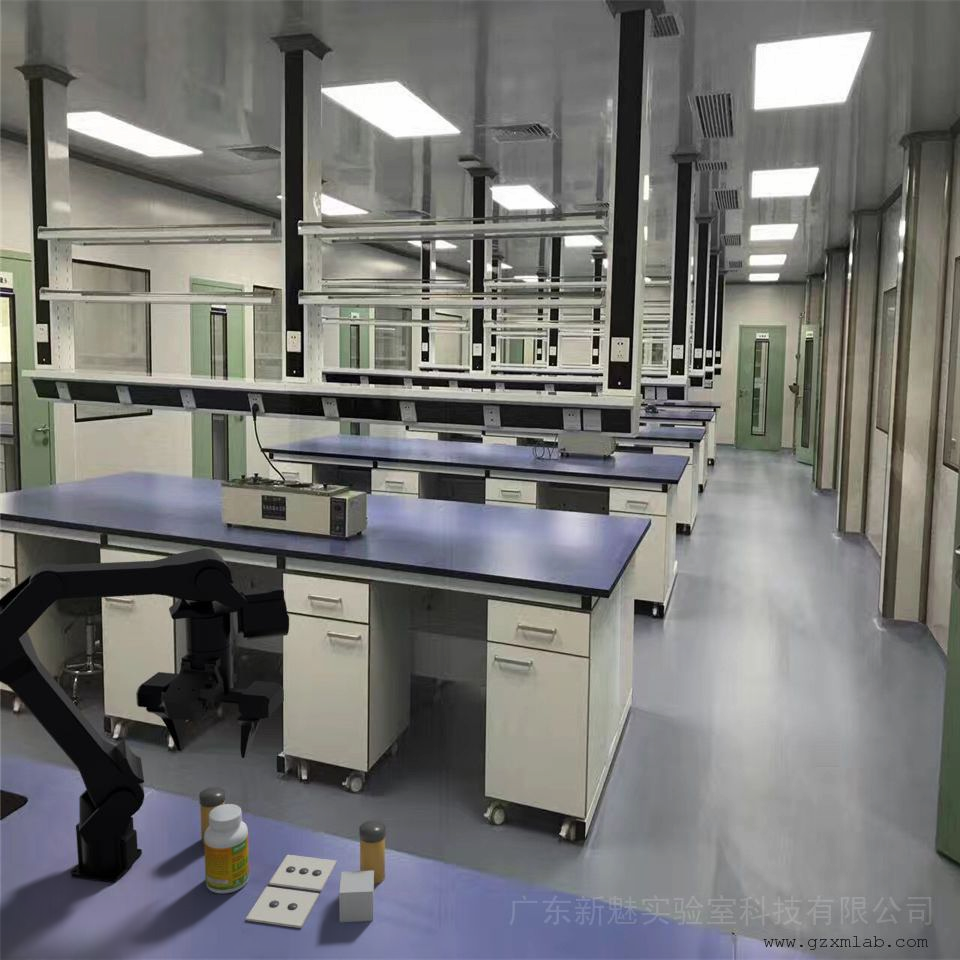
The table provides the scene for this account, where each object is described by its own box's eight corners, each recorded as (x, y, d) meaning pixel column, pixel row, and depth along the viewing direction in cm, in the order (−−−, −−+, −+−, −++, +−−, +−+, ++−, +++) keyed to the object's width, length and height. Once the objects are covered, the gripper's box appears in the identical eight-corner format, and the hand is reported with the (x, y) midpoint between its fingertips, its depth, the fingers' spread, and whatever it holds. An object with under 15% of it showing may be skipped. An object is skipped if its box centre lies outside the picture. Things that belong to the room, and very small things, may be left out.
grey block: (339, 922, 101) (339, 892, 100) (341, 900, 104) (341, 871, 104) (373, 921, 101) (373, 891, 100) (374, 899, 105) (374, 870, 104)
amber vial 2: (355, 883, 108) (355, 834, 106) (363, 867, 111) (363, 819, 110) (381, 886, 107) (381, 837, 106) (388, 870, 110) (388, 822, 109)
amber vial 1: (196, 845, 115) (194, 798, 114) (208, 831, 118) (206, 785, 117) (219, 848, 114) (217, 801, 113) (230, 834, 118) (229, 788, 116)
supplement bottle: (236, 898, 104) (234, 827, 103) (197, 891, 105) (194, 821, 104) (256, 871, 110) (254, 803, 108) (219, 865, 111) (216, 798, 109)
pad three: (269, 884, 107) (269, 881, 107) (287, 856, 113) (287, 853, 113) (321, 891, 106) (321, 888, 106) (337, 862, 112) (337, 860, 112)
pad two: (246, 920, 100) (246, 917, 100) (266, 888, 106) (266, 885, 106) (301, 928, 99) (301, 925, 99) (319, 895, 105) (319, 892, 105)
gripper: (108, 661, 105) (115, 776, 108) (248, 674, 102) (251, 791, 105) (156, 631, 116) (161, 736, 118) (284, 641, 113) (286, 749, 115)
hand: (212, 753), depth 114 cm, fingers open, 9 cm apart
